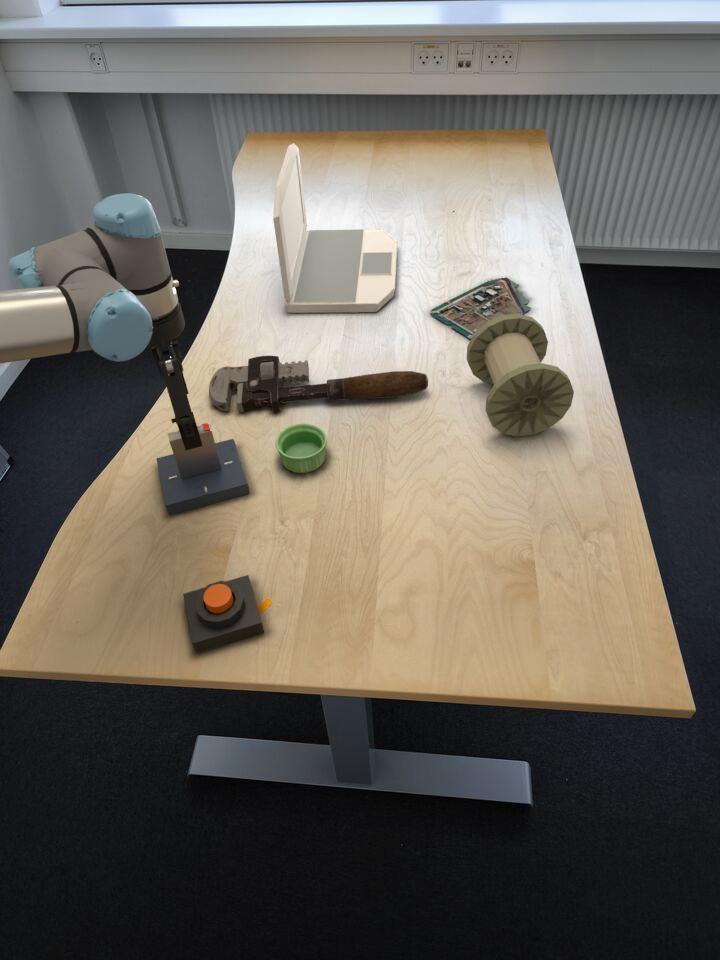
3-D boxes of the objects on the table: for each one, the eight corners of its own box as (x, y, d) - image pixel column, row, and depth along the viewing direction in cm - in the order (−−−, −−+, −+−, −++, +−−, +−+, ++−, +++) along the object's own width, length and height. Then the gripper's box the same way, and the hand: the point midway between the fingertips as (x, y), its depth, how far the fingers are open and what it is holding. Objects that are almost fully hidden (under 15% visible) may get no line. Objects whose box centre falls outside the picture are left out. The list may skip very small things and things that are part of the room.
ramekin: (276, 445, 134) (273, 427, 131) (324, 437, 135) (322, 419, 132) (281, 479, 128) (278, 462, 125) (332, 471, 129) (330, 453, 126)
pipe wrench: (209, 422, 141) (203, 405, 137) (213, 374, 149) (208, 356, 145) (430, 402, 140) (430, 383, 136) (422, 355, 148) (422, 336, 144)
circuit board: (500, 275, 170) (500, 271, 169) (548, 302, 162) (549, 298, 161) (427, 311, 161) (427, 308, 160) (474, 341, 153) (474, 338, 152)
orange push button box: (196, 653, 105) (189, 636, 102) (186, 603, 111) (180, 586, 108) (264, 632, 107) (259, 615, 103) (251, 585, 113) (246, 567, 109)
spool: (565, 430, 133) (579, 364, 122) (484, 440, 132) (491, 374, 121) (539, 375, 144) (550, 309, 134) (464, 383, 144) (469, 318, 133)
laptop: (394, 312, 162) (392, 196, 143) (286, 313, 164) (269, 199, 144) (398, 237, 185) (396, 129, 166) (303, 239, 187) (290, 132, 167)
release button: (208, 617, 104) (205, 610, 103) (203, 595, 107) (201, 588, 105) (235, 609, 105) (233, 602, 104) (230, 587, 107) (228, 580, 106)
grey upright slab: (181, 479, 126) (169, 440, 119) (180, 471, 127) (167, 432, 120) (221, 468, 127) (211, 429, 120) (219, 461, 128) (209, 422, 122)
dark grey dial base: (169, 515, 123) (165, 504, 122) (159, 467, 131) (156, 457, 130) (249, 493, 126) (247, 482, 124) (235, 448, 134) (233, 437, 132)
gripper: (193, 350, 96) (224, 464, 111) (166, 259, 112) (196, 369, 128) (136, 364, 94) (175, 477, 110) (117, 270, 111) (153, 380, 126)
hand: (186, 419), depth 119 cm, fingers open, 13 cm apart
